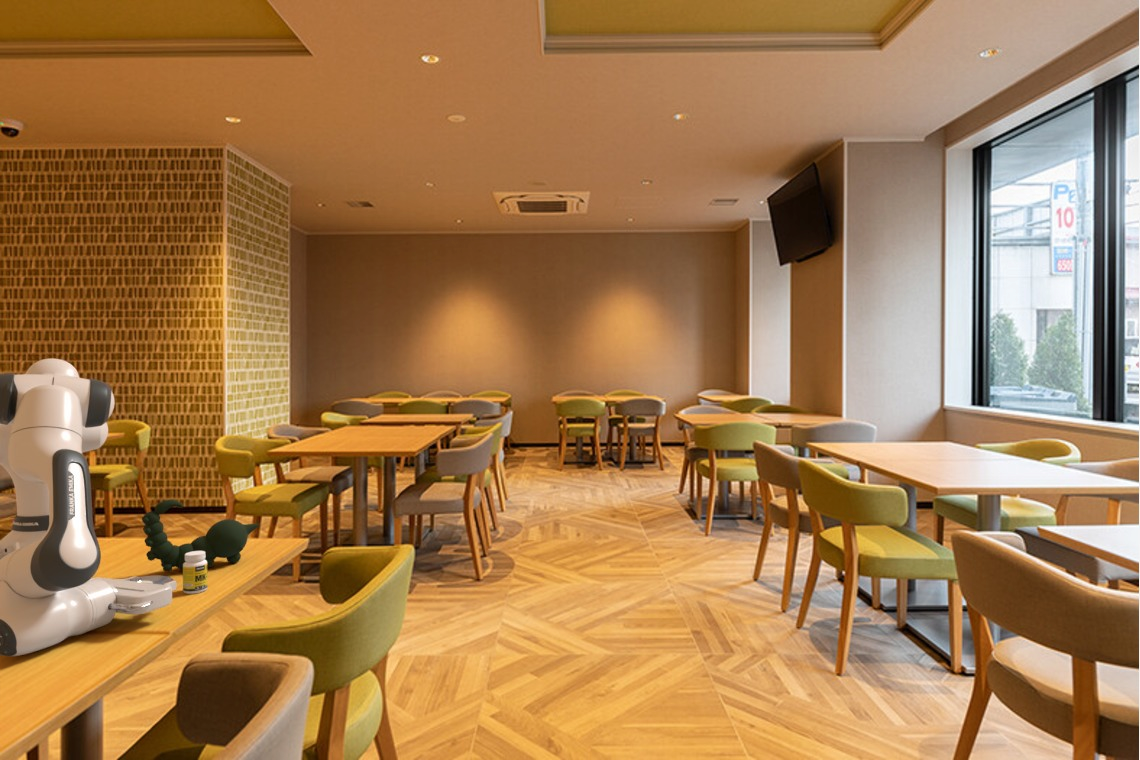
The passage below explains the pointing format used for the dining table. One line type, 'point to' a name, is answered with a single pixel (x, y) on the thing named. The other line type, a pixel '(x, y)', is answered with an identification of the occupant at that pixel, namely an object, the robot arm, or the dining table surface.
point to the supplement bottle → (195, 572)
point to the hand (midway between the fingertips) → (156, 582)
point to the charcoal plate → (155, 579)
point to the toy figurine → (218, 541)
